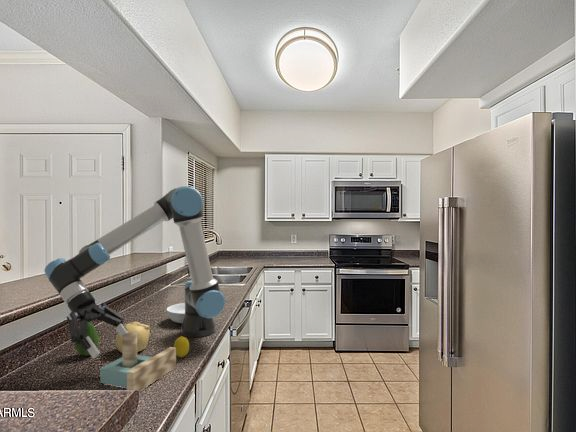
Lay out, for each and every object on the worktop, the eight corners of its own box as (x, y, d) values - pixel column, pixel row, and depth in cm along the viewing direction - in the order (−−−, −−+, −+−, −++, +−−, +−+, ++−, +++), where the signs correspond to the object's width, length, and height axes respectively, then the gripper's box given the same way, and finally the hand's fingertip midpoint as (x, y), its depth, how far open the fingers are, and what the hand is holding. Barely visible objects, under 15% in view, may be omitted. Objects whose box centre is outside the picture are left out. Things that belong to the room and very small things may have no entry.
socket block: (128, 368, 122) (128, 353, 122) (158, 373, 118) (158, 358, 118) (100, 384, 110) (100, 368, 110) (131, 390, 106) (131, 373, 106)
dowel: (129, 374, 117) (129, 332, 117) (140, 376, 115) (140, 333, 115) (119, 380, 113) (119, 336, 112) (130, 382, 111) (130, 338, 111)
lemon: (170, 358, 130) (170, 336, 130) (183, 353, 134) (183, 332, 134) (179, 362, 126) (179, 339, 126) (192, 357, 131) (192, 335, 131)
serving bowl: (199, 329, 162) (199, 314, 162) (157, 326, 166) (157, 311, 166) (217, 316, 182) (217, 303, 182) (180, 314, 187) (179, 301, 187)
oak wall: (170, 367, 122) (170, 346, 122) (176, 368, 121) (176, 347, 121) (126, 395, 103) (126, 371, 103) (133, 396, 102) (133, 372, 102)
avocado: (93, 349, 138) (93, 318, 138) (102, 354, 133) (102, 322, 133) (71, 355, 132) (71, 323, 132) (79, 361, 127) (79, 328, 127)
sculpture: (153, 344, 143) (153, 318, 143) (142, 356, 131) (141, 327, 131) (124, 345, 143) (124, 318, 143) (110, 357, 131) (110, 328, 131)
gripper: (101, 297, 133) (134, 341, 128) (36, 315, 109) (73, 370, 105) (113, 284, 131) (146, 328, 127) (49, 299, 107) (88, 355, 103)
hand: (113, 347), depth 116 cm, fingers open, 13 cm apart
